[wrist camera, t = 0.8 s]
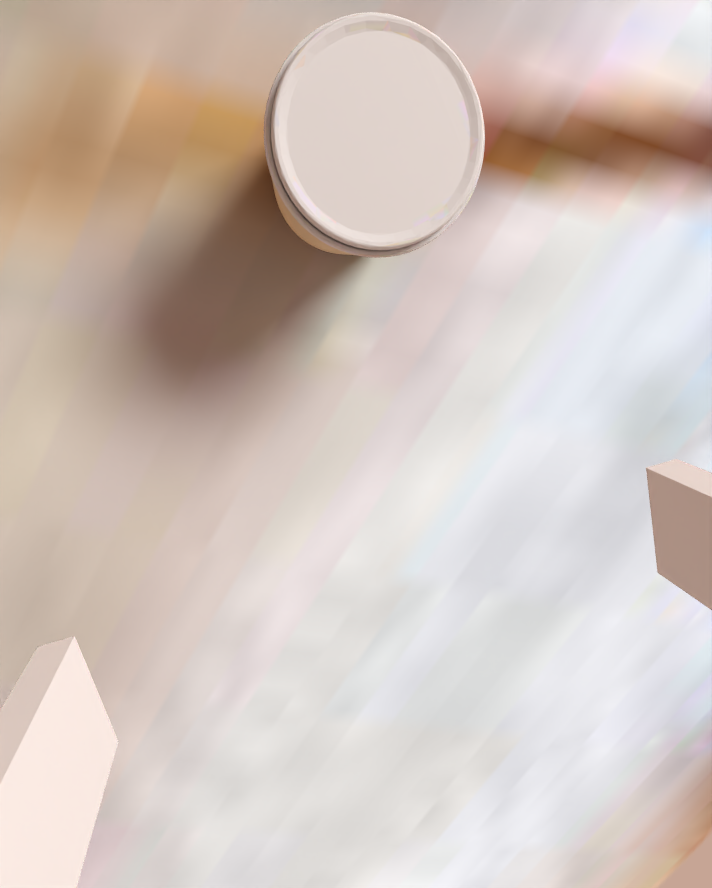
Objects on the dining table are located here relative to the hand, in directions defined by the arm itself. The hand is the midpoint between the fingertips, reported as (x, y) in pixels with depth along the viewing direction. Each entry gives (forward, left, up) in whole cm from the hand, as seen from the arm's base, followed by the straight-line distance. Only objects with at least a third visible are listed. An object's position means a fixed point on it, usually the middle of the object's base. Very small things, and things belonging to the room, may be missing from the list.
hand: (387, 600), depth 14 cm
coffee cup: (-10, +8, -27) cm, 30 cm away
